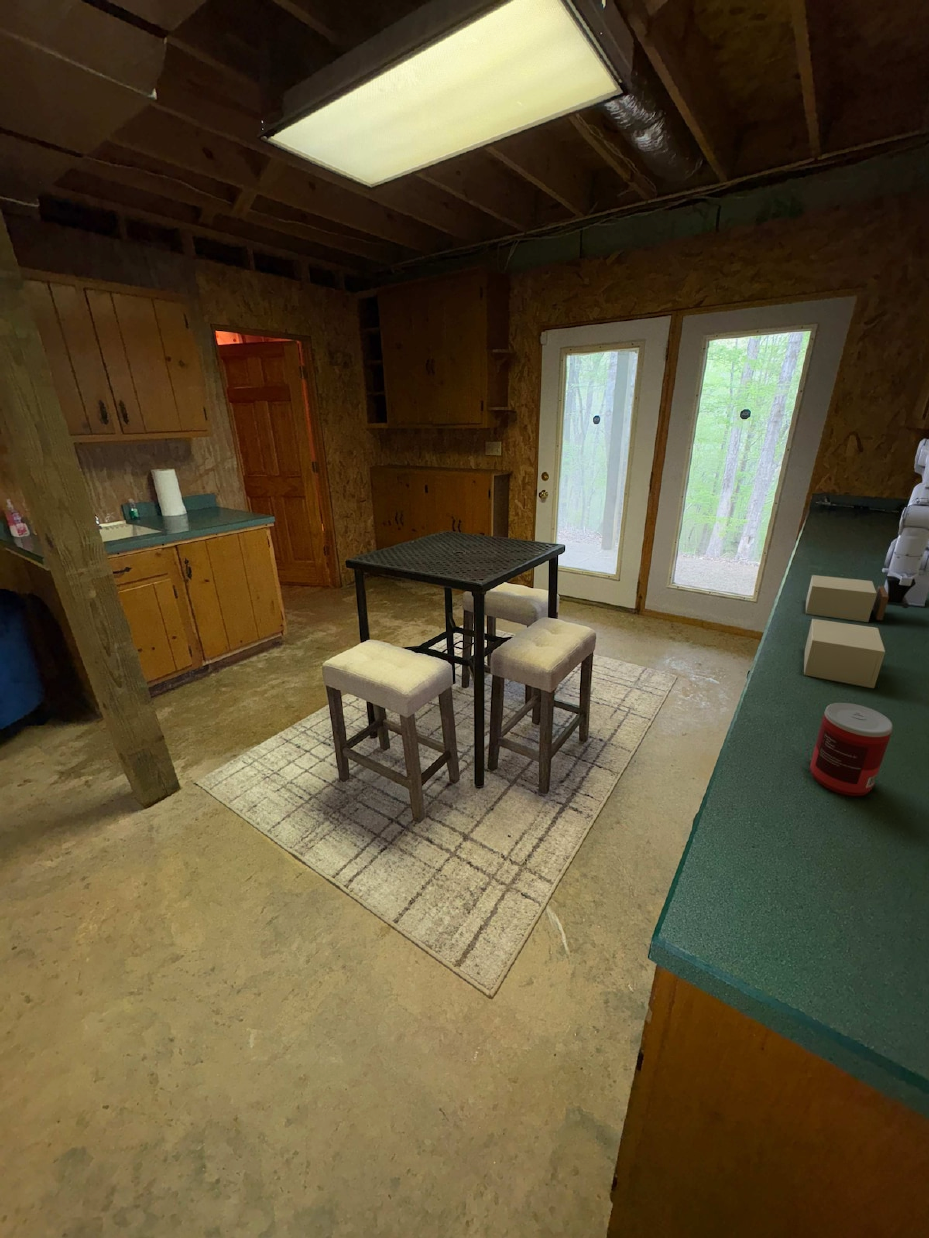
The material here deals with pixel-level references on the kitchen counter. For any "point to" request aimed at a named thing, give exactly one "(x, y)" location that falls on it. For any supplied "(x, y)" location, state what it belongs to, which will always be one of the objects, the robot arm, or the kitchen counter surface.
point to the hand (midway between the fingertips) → (892, 604)
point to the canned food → (850, 748)
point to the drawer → (884, 602)
